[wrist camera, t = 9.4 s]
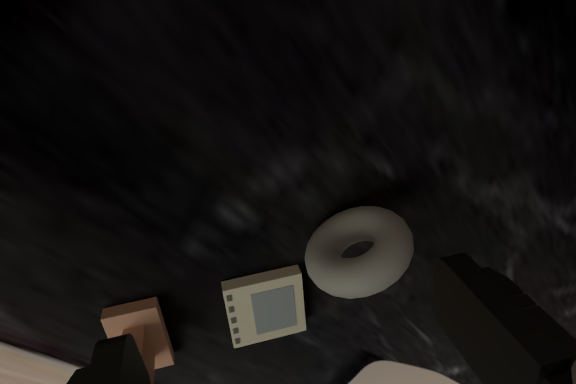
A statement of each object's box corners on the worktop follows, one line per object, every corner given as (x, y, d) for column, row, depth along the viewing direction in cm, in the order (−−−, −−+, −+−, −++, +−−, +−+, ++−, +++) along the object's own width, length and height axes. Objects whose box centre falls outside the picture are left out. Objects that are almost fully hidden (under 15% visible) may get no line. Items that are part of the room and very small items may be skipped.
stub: (156, 296, 40) (154, 348, 34) (173, 353, 44) (174, 407, 38) (102, 308, 39) (91, 363, 34) (125, 365, 43) (118, 422, 37)
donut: (300, 255, 42) (333, 326, 34) (287, 231, 40) (318, 300, 32) (386, 210, 42) (441, 269, 34) (376, 184, 41) (431, 240, 32)
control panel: (297, 264, 43) (301, 274, 41) (302, 320, 46) (306, 330, 45) (221, 281, 41) (222, 292, 40) (232, 337, 45) (234, 349, 44)
